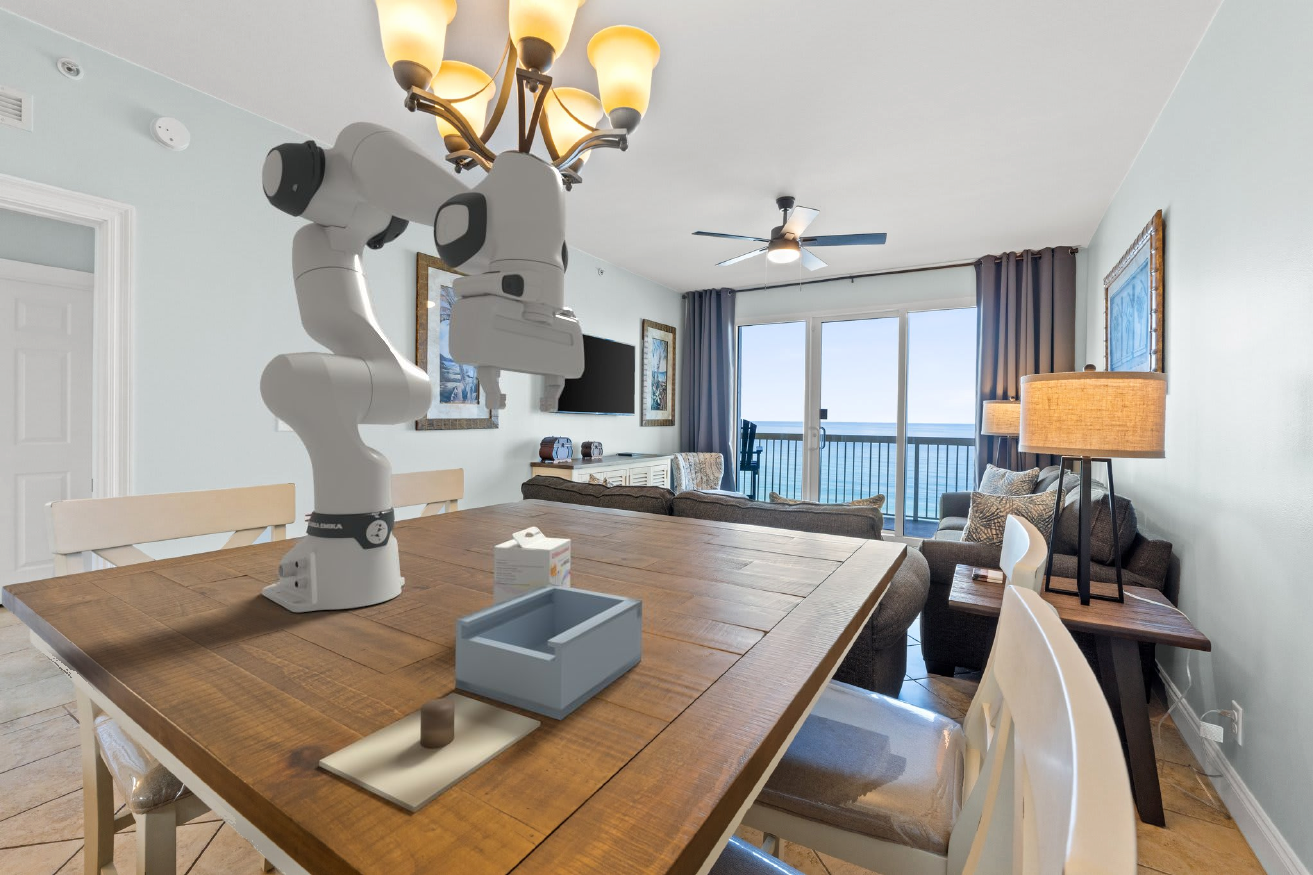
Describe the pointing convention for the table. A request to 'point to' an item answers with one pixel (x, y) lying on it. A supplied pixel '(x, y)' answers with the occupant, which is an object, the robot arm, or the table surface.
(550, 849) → the table surface
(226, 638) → the table surface
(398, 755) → the lid
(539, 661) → the box
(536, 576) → the ink box
